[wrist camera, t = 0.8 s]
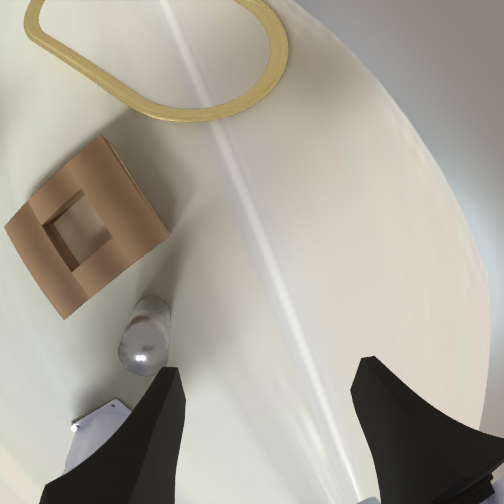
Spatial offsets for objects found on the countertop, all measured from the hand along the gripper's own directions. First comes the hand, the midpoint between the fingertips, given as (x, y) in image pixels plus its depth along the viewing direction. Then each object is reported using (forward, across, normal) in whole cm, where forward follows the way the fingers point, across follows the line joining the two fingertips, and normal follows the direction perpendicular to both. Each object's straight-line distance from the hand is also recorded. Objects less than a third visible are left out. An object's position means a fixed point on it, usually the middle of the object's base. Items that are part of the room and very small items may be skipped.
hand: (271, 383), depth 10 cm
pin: (+14, +9, +7) cm, 18 cm away
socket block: (+15, +15, -2) cm, 21 cm away
